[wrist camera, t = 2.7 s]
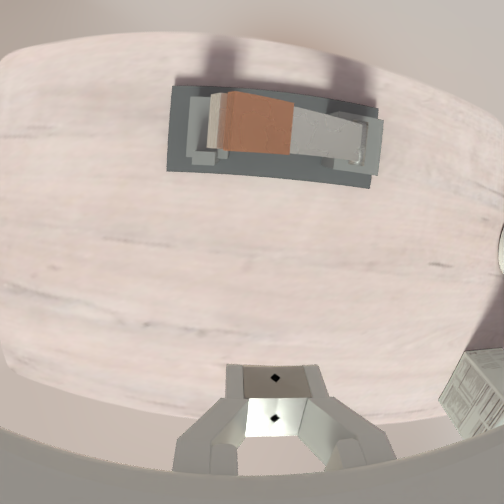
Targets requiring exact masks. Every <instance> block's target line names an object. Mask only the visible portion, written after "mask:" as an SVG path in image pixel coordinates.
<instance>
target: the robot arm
mask: <svg viewBox="0 0 504 504" xmlns="http://www.w3.org/2000/svg"><path fill="white" fill-rule="evenodd" d="M498 256H499V265H500V269H501V271H502V273H503V275H504V228H503V231H502V234H501V238H500V243H499V254H498ZM294 435H295V436H296V435H298V438H299V439H300V440H301V441H302V442H303V443H304V444H305V445H306V446H307V447H308V448H309V449H310V450H311V451H312V452H313V453H314V455H315V456H316V457H317V458H318V459H319V460H320V461H321V462H322V463H323V464H324V465H325V466H326V467H325V470H324V472H315V473H304V474H291V475H266V476H238V462H237V449H238V448H239V446H240V445H241V443H242V442H243V441H244V439H245V438H246V436H294ZM0 504H504V424H503V425H501V426H498V427H496V428H494V429H491V430H489V431H486V432H484V433H481V434H478V435H476V436H473V437H470V438H468V439H465V440H462V441H459V442H456V443H453V444H450V445H447V446H444V447H441V448H437V449H434V450H431V451H427V452H424V453H420V454H416V455H412V456H408V457H404V458H400V459H397V458H396V456H395V453H394V451H393V449H392V447H391V444H390V442H389V440H388V438H387V435H386V433H385V432H384V431H382V430H381V429H379V428H378V427H376V426H375V425H373V424H372V423H370V422H369V421H368V420H366V419H365V418H363V417H362V416H360V415H359V414H357V413H356V412H354V411H353V410H352V409H350V408H349V407H347V406H346V405H344V404H343V403H342V402H340V401H339V400H337V399H336V398H335V397H329V394H328V392H327V389H326V386H325V383H324V380H323V377H322V374H321V371H320V369H319V366H318V365H302V366H265V365H238V364H227V365H226V389H225V398H220V399H219V400H218V401H217V402H216V403H215V404H214V405H213V406H212V407H211V408H210V409H209V410H208V411H207V412H206V413H205V414H204V415H203V416H202V417H201V418H200V419H198V420H197V421H196V423H194V424H193V425H192V426H191V427H190V428H189V429H188V430H187V431H186V432H185V433H183V434H182V436H180V437H179V438H178V439H177V443H176V449H175V456H174V462H173V469H172V471H165V470H158V469H150V468H144V467H138V466H132V465H127V464H122V463H117V462H112V461H107V460H103V459H98V458H94V457H90V456H86V455H82V454H78V453H75V452H71V451H68V450H64V449H61V448H57V447H54V446H51V445H48V444H45V443H42V442H39V441H36V440H33V439H31V438H28V437H25V436H23V435H20V434H17V433H15V432H12V431H10V430H7V429H5V428H3V427H0Z"/></svg>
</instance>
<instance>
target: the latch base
mask: <svg viewBox="0 0 504 504" xmlns="http://www.w3.org/2000/svg"><path fill="white" fill-rule="evenodd" d="M232 91H238V92H244V93H249V94H255V95H260V96H265V97H269V98H274V99H279V100H283V101H288V102H292V103H294V106H295V107H299V108H303V109H307V110H311V111H315V112H319V113H323V114H327V115H331V116H334V117H338V118H341V119H345V120H348V121H353V120H362V121H366V122H369V126H368V136H367V146H366V155H365V163H364V166H357V165H351V164H348V161H349V160H344V159H336V158H328V157H320V156H311V155H301V154H291V153H290V155H283V154H270V153H255V152H238V151H224V150H223V149H215V148H207V136H208V123H209V111H210V100H211V94H216V93H227V94H228V92H232ZM383 123H384V120H380V119H378V108H373V107H369V106H364V105H360V104H355V103H350V102H345V101H339V100H334V99H328V98H322V97H316V96H309V95H302V94H295V93H287V92H279V91H269V90H259V89H247V88H233V87H213V86H172V96H171V108H170V120H169V134H168V151H167V171H171V172H196V173H215V174H232V175H246V176H259V177H271V178H282V179H292V180H302V181H311V182H320V183H329V184H337V185H345V186H353V187H360V188H367V189H370V183H371V176H372V175H376V176H378V169H379V161H380V153H381V143H382V134H383Z"/></svg>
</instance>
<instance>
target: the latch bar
mask: <svg viewBox="0 0 504 504" xmlns="http://www.w3.org/2000/svg"><path fill="white" fill-rule="evenodd" d="M368 126H369V122H366V121H362V120H353V121H348V120H345V119H341V118H338V117H334V116H331V115H327V114H323V113H319V112H315V111H311V110H307V109H303V108H299V107H295V106H294V103H292V102H288V101H283V100H279V99H274V98H269V97H265V96H260V95H255V94H249V93H244V92H238V91H232V92H228V94H227V93H216V94H211V100H210V111H209V123H208V136H207V148H215V149H223V150H224V151H238V152H255V153H270V154H283V155H290V153H291V154H301V155H311V156H320V157H328V158H336V159H344V160H349V161H348V164H351V165H357V166H364V163H365V155H366V146H367V136H368Z"/></svg>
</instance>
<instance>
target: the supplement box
mask: <svg viewBox="0 0 504 504" xmlns="http://www.w3.org/2000/svg"><path fill="white" fill-rule="evenodd" d="M438 401H439V402H440V404H441V406H442V407H443V409H444V410H445V412H446V413H447V415H448V416H449V418H450V420H451V421H452V423H453V424H454V426H455V428H456V429H457V430H458V432H459V434H460V435H461V437H462V439H463V440H465V439H468V438H470V437H473V436H476V435H478V434H481V433H484V432H486V431H489V430H491V429H494V428H496V427H498V426H501V425H503V424H504V349H503V348H494V349H485V350H475V351H465V352H464V354H463V356H462V358H461V360H460V362H459V364H458V366H457V367H456V369H455V371H454V373H453V375H452V377H451V379H450V381H449V382H448V384H447V386H446V388H445V389H444V391H443V393H442V395H441V396H440V398H439V400H438Z"/></svg>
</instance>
